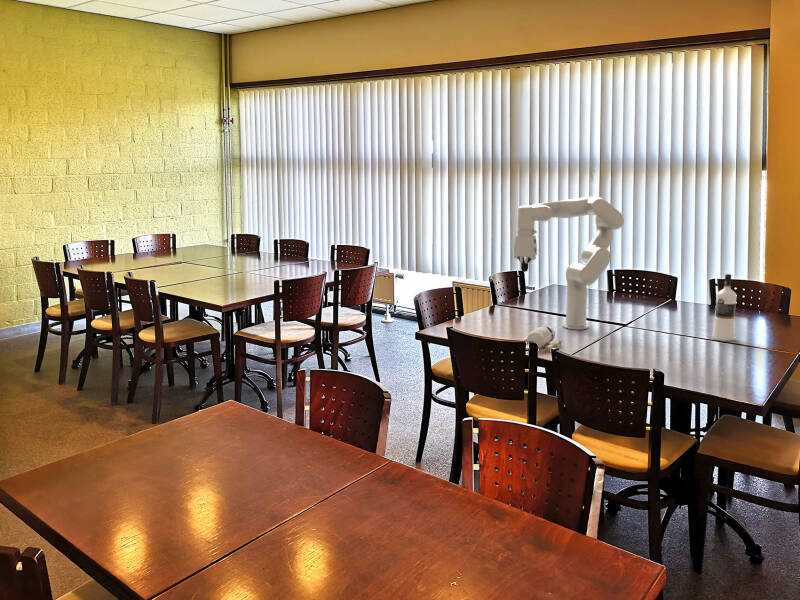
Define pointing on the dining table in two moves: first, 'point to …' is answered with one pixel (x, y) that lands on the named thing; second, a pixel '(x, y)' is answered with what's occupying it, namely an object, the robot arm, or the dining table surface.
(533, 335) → the supplement can
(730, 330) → the vodka
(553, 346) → the rail cradle
